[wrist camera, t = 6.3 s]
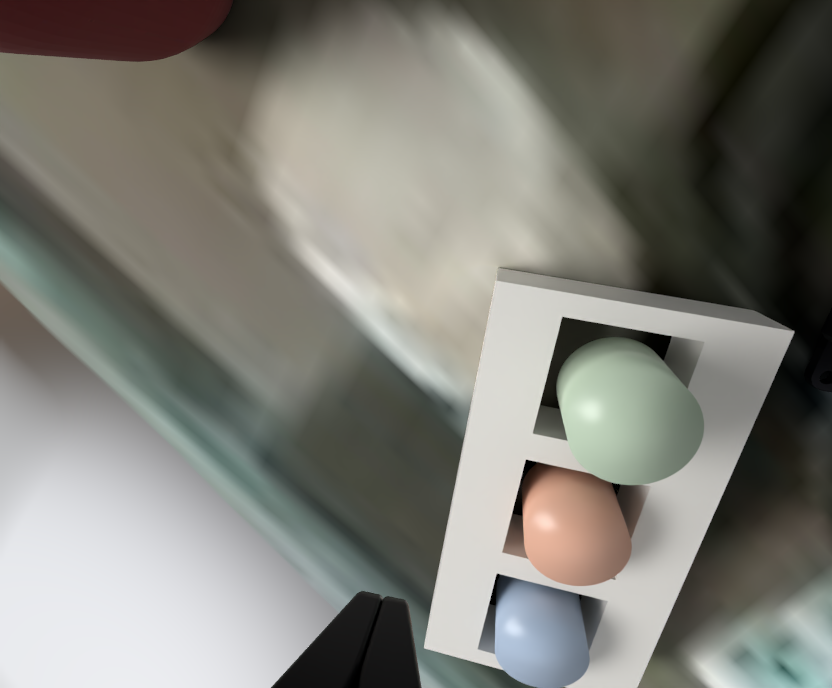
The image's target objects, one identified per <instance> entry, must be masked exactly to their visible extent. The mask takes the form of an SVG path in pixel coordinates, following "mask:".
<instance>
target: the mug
mask: <svg viewBox="0 0 832 688" xmlns="http://www.w3.org/2000/svg"><path fill="white" fill-rule="evenodd" d="M232 3H233V0H0V52H3V53H14V54H28V55H42V56H57V57H72V58H87V59H102V60H116V61H136V62H141V61H153V60H159V59H164V58H167V57H170V56H173V55H176V54H179V53H181V52H183V51H185V50H187V49H189V48H191V47H193V46H194V45H196V44H197V43H199V42H200V41H202V40H203V39H205V38H206V37H208V36H209V35H210V34H212V33H213V32H214V31H216V30H217V29H218V28H219V27H220V25H221V24H222V23H223V22H224V20H225V18H226V17H227V15H228V13H229V11H230V9H231V6H232Z"/></svg>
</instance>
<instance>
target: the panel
mask: <svg viewBox="0 0 832 688" xmlns="http://www.w3.org/2000/svg"><path fill="white" fill-rule="evenodd" d="M562 317H567V318H572V319H578V320H584V321H589V322H595V323H601V324H606V325H612V326H618V327H623V328H629V329H635V330H640V331H646V332H652V333H657V334H663V335H669V336H672V338H671V341H670V344H669V347H668V350H667V353H666V356H665V358H664V362H665V364H666V365H667V366H668V367H669V368H670V369H671V370H672V372H673V373H674V374H675V375H676V376H677V377H678V378H679V380H680V381H681V382H682V383H683V384H684V385H685V386H686V388H687V389H688V390H689V391H690V392H691V393H692V395H693V396H694V397H695V399H696V400H697V402H698V404H699V405H700V408H701V411H702V413H703V418H704V433H703V438H702V442H701V445H700V447H699V449H698V451H697V452H696V454H695V455H694V457H693V458H692V459H691V460H690V461H689V463H688V464H687V465H686V466H684V467H683V468H682V469H681V470H679V471H678V472H676V473H675V474H673V475H671V476H669V477H667V478H665V479H663V480H660V481H657V482H653V483H650V484H643V485H622V484H621V485H620V488H619V491H618V494H617V500H618V503H619V506H620V509H621V511H622V514H623V517H624V520H625V523H626V526H627V529H628V532H629V534H630V538H631V543H632V550H631V555H630V559H629V561H628V563H627V564H626V566H625V567H624V569H623V570H622V571H621V572H620V573H618V574H617V575H616V576H615V577H613V578H611V579H610V580H607V581H605V582H602V583H599V584H595V585H590V586H572V585H566V584H562V583H559V582H556V581H554V580H551V579H550V578H548V577H546V576H544V575H543V574H542V573H540V572H539V571H538V570H537V569H536V568H535V567H534V566H533V565H532V563H531V562H530V560H529V559H528V557H527V554H526V551H525V546H524V530H523V516H520V515H516V514H512V512H513V508H514V504H515V500H516V496H517V492H518V489H519V485H520V481H521V477H522V473H523V469H524V465H525V461H526V460H531V461H535V462H540V463H544V464H549V465H554V466H558V467H563V468H567V469H572V470H577V471H581V472H586V473H590V472H589V471H587V470H586V469H585V468H584V467H583V466H581V465H580V463H579V462H578V461H577V460H576V458H575V457H574V455H573V454H572V452H571V449H570V447H569V444H568V440H567V436H566V432H565V427H564V423H563V419H562V415H561V410H560V409H557V408H552V407H548V406H543V405H540V402H541V398H542V394H543V390H544V387H545V383H546V379H547V375H548V371H549V367H550V363H551V359H552V355H553V351H554V347H555V343H556V340H557V336H558V332H559V328H560V324H561V320H562ZM794 332H795V331H793V330H791V329H789V328H787V327H785V326H783V325H781V324H779V323H778V322H776V321H774V320H772V319H770V318H768V317H766V316H764V315H762V314H760V313H758V312H756V311H754V310H749V309H743V308H737V307H731V306H725V305H719V304H713V303H707V302H701V301H695V300H689V299H683V298H677V297H671V296H665V295H659V294H653V293H647V292H641V291H635V290H629V289H623V288H617V287H611V286H605V285H599V284H593V283H587V282H581V281H575V280H569V279H563V278H557V277H551V276H545V275H539V274H533V273H527V272H521V271H515V270H509V269H503V268H498V270H497V275H496V280H495V285H494V290H493V295H492V300H491V305H490V310H489V315H488V320H487V325H486V331H485V336H484V341H483V346H482V351H481V356H480V361H479V366H478V371H477V376H476V381H475V386H474V391H473V397H472V402H471V407H470V412H469V417H468V422H467V427H466V432H465V437H464V442H463V447H462V452H461V458H460V463H459V468H458V473H457V478H456V483H455V488H454V493H453V498H452V503H451V508H450V513H449V518H448V524H447V529H446V534H445V539H444V544H443V549H442V554H441V559H440V564H439V569H438V574H437V579H436V584H435V590H434V595H433V600H432V605H431V611H430V616H429V622H428V627H427V633H426V639H425V644H424V648H425V649H429V650H433V651H436V652H440V653H444V654H447V655H451V656H454V657H458V658H462V659H465V660H469V661H473V662H476V663H480V664H483V665H487V666H491V667H494V668H498V669H502V670H504V669H503V668H502V667H501V666H500V664H499V663H498V661H497V658H496V655H495V619H496V606H495V605H491V604H489V602H490V598H491V594H492V590H493V587H494V583H495V579H496V575H497V574H501V575H505V576H509V577H513V578H517V579H521V580H525V581H529V582H533V583H537V584H541V585H545V586H549V587H553V588H557V589H561V590H565V591H569V592H573V593H577V594H581V595H582V598H581V601H580V604H581V610H582V616H583V621H584V627H585V633H586V639H587V644H588V650H589V657H590V661H589V666H588V669H587V671H586V673H585V674H584V675H583V676H582V677H581V678H580V679H579V680H577V681H576V682H574V683H572V684H570V685H567V686H564V687H567V688H637V687H638V685H639V682H640V680H641V678H642V676H643V673H644V671H645V669H646V667H647V664H648V662H649V660H650V657H651V655H652V653H653V651H654V648H655V646H656V644H657V642H658V639H659V637H660V635H661V633H662V630H663V628H664V626H665V624H666V621H667V619H668V617H669V615H670V612H671V610H672V608H673V606H674V603H675V601H676V599H677V596H678V594H679V592H680V590H681V587H682V585H683V583H684V581H685V578H686V576H687V574H688V572H689V569H690V567H691V565H692V563H693V560H694V558H695V556H696V554H697V551H698V549H699V547H700V545H701V542H702V540H703V538H704V535H705V533H706V531H707V529H708V526H709V524H710V522H711V520H712V517H713V515H714V513H715V511H716V508H717V506H718V504H719V502H720V499H721V497H722V495H723V493H724V490H725V488H726V486H727V484H728V481H729V479H730V477H731V475H732V472H733V470H734V468H735V465H736V463H737V461H738V459H739V456H740V454H741V452H742V450H743V447H744V445H745V443H746V441H747V438H748V436H749V434H750V432H751V429H752V427H753V425H754V423H755V420H756V418H757V416H758V414H759V411H760V409H761V407H762V404H763V402H764V400H765V398H766V395H767V393H768V391H769V389H770V386H771V384H772V382H773V380H774V377H775V375H776V373H777V371H778V368H779V366H780V364H781V362H782V359H783V357H784V355H785V353H786V350H787V348H788V346H789V343H790V341H791V339H792V337H793V334H794ZM590 474H591V473H590Z"/></svg>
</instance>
